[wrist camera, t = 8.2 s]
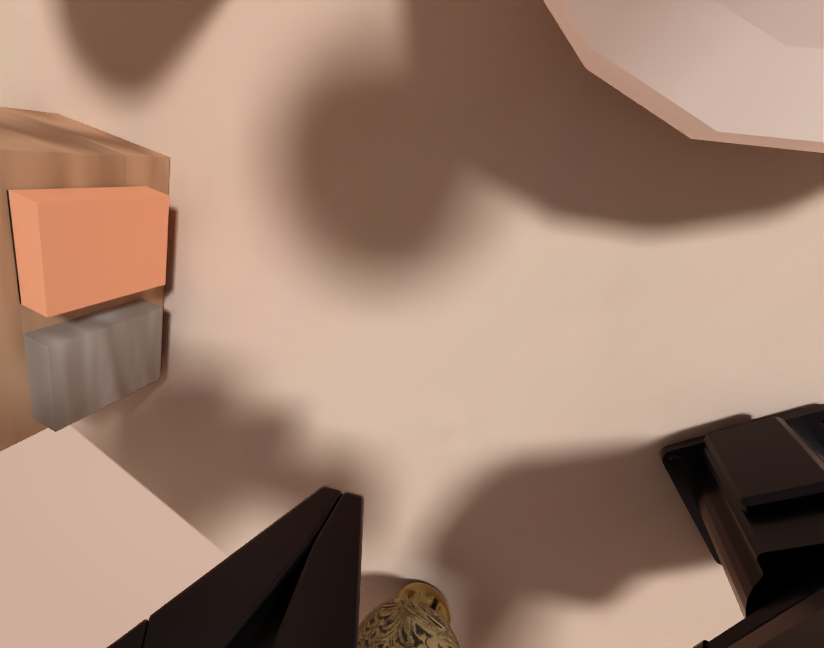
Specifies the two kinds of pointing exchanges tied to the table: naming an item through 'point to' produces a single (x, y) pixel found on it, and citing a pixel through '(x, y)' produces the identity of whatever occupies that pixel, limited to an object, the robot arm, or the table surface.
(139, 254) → the plug
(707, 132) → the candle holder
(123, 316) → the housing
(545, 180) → the table surface
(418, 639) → the cup
